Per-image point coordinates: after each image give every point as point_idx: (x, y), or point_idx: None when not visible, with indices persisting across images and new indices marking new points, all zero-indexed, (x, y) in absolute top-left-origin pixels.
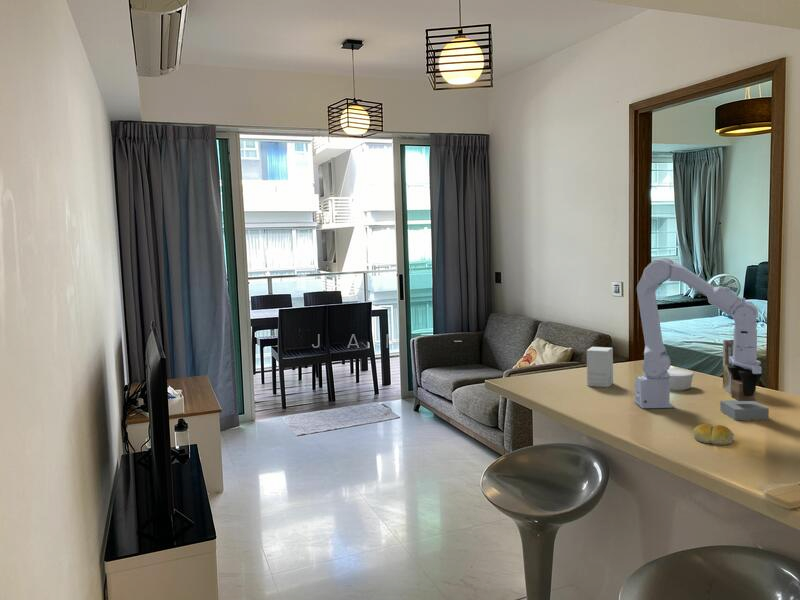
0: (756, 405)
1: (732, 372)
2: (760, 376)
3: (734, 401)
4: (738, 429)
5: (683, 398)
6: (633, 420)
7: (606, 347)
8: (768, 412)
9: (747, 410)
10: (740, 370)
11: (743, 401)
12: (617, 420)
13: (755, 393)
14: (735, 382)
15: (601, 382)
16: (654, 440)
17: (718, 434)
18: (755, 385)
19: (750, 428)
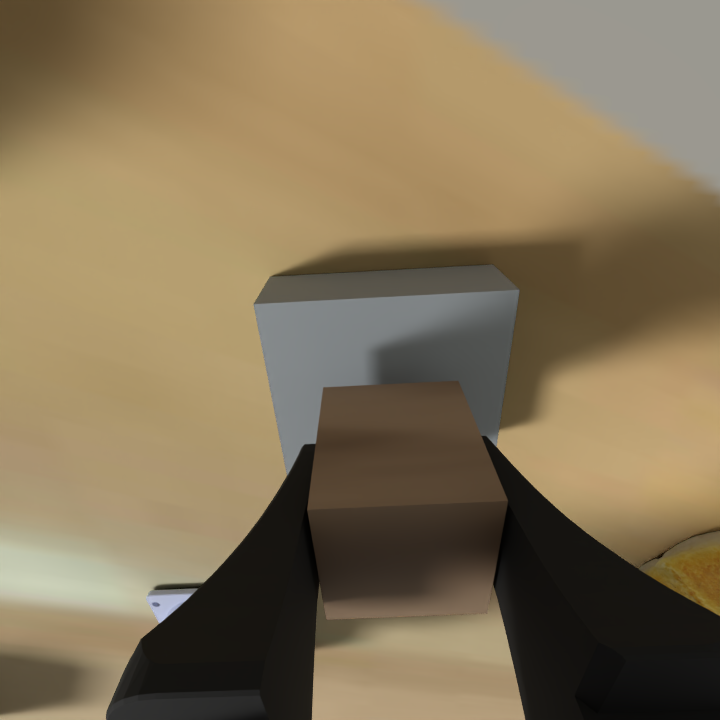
0: (417, 338)
1: (310, 709)
2: (691, 609)
3: (305, 430)
4: (617, 468)
5: (65, 522)
6: (425, 684)
7: None
8: (510, 281)
9: (497, 417)
10: (295, 693)
11: (301, 379)
12: (421, 707)
13: (475, 422)
14: (406, 609)
15: None
16: None
17: None
18: (550, 508)
19: (622, 419)
